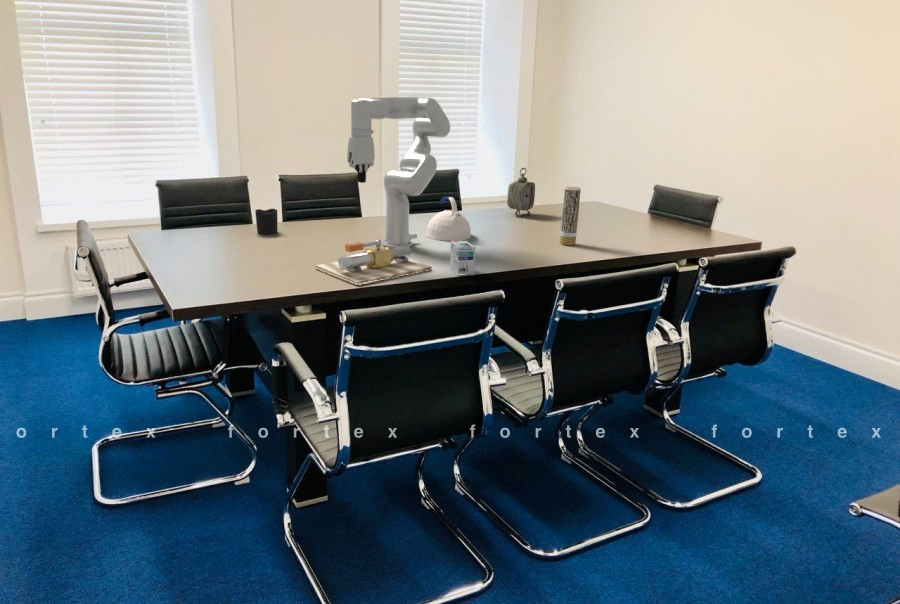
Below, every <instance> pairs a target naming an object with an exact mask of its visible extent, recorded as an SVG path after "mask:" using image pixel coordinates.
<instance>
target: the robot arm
mask: <svg viewBox="0 0 900 604" xmlns="http://www.w3.org/2000/svg"><path fill="white" fill-rule="evenodd" d="M350 102H351V103H350V110H351V111H350V113H351V114H350V118H351V119H350V123H351V124H350V127H351V129H350V130H351V133H350V134H351V136H350V137H349V139H348V144H347V153H346V154H347V155H346V160H347V163H348V167H349V168H352V169H354V170H355V172H356V173H357V175H356V179H357V182H358V183H361V184H362V183H366V182H367V172H368V170H369V168H371V167H373V166H374V164H375V158H376V157H375V143H374V138H373V137H372V134H374V130H373V129H372V120H384V119H391V120H404V119H405V120H406V119H414V120H413V123H412V133H413V141H412V144H411V145H410V147H409V148H408V149H407V151H406V152H405V154H404V155H403V156H402V158H401V160H400V162H399V169H391V170H389V171H387V172H386V174H385V175H384V178H383V186H384V190H385V200H386V202H385V204H386V208H385V209H386V211H385V212H386V213H385V221H386V222H385V240H383V241H381V245H382V247H385V248H386V247H389V248H397V247H403V246H409V248H411V247H412V245H413V242H412V240H413V239H417V238H418V235H417V234H416V233H413V234H411V233H409V230H410V229H409V226H410V202H409V198H408V196H411V197H415V196H419V195H421V194H422V193H423V191H424V190H425V189H426V188H427V186H428V185H429V183H430V182H431V180H432V179H433V178H434V176H435V174H436V171H437V167H438V163H437V162H438V161H437V159H436V158H435V156H433V155H432V154H431V152H432V147H431V144H430V141H429V137H430V138H431V137H432V138H445V137H447V136H448V135H449V133H450V132H451V123H450V120H449V118H448V117H447V115H446V113H445V111H444V110H443V108H442V107H441V105H440V104H439V102H437V100H436V99H434V98H433V97H421V96H389V97H361V98H357V99H353V100H352V101H350Z"/></svg>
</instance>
